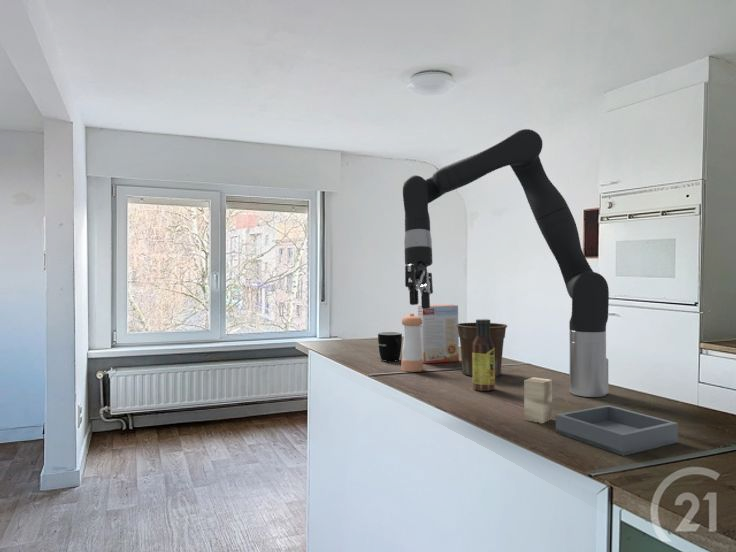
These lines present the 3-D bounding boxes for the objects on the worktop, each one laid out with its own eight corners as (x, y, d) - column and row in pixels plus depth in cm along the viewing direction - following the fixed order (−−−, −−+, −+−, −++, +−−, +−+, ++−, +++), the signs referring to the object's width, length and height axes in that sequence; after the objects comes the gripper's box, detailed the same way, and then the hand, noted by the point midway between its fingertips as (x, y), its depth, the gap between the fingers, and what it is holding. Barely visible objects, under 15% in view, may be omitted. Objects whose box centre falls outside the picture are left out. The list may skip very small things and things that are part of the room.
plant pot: (475, 367, 187) (474, 320, 187) (517, 373, 176) (516, 324, 176) (446, 374, 176) (446, 324, 176) (489, 381, 164) (489, 328, 164)
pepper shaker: (422, 372, 179) (421, 314, 179) (400, 371, 181) (400, 314, 180) (423, 368, 187) (423, 312, 186) (402, 367, 188) (402, 312, 187)
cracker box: (452, 359, 204) (452, 303, 204) (459, 361, 198) (459, 305, 198) (417, 361, 200) (417, 304, 200) (423, 363, 195) (423, 305, 194)
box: (608, 422, 120) (608, 405, 120) (677, 442, 106) (677, 423, 106) (555, 432, 113) (555, 414, 113) (623, 456, 99) (623, 435, 98)
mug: (374, 359, 205) (373, 332, 205) (394, 357, 209) (394, 331, 209) (388, 364, 194) (388, 336, 194) (410, 362, 198) (410, 334, 198)
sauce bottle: (495, 392, 150) (495, 320, 149) (472, 391, 151) (472, 320, 150) (494, 387, 156) (494, 318, 156) (472, 386, 157) (472, 318, 157)
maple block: (533, 415, 126) (533, 377, 126) (551, 419, 123) (551, 379, 123) (524, 419, 122) (524, 380, 122) (543, 423, 119) (543, 383, 119)
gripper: (421, 240, 141) (423, 302, 138) (439, 252, 153) (442, 308, 150) (395, 244, 144) (396, 304, 141) (415, 255, 157) (417, 310, 153)
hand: (420, 306), depth 145 cm, fingers open, 8 cm apart
